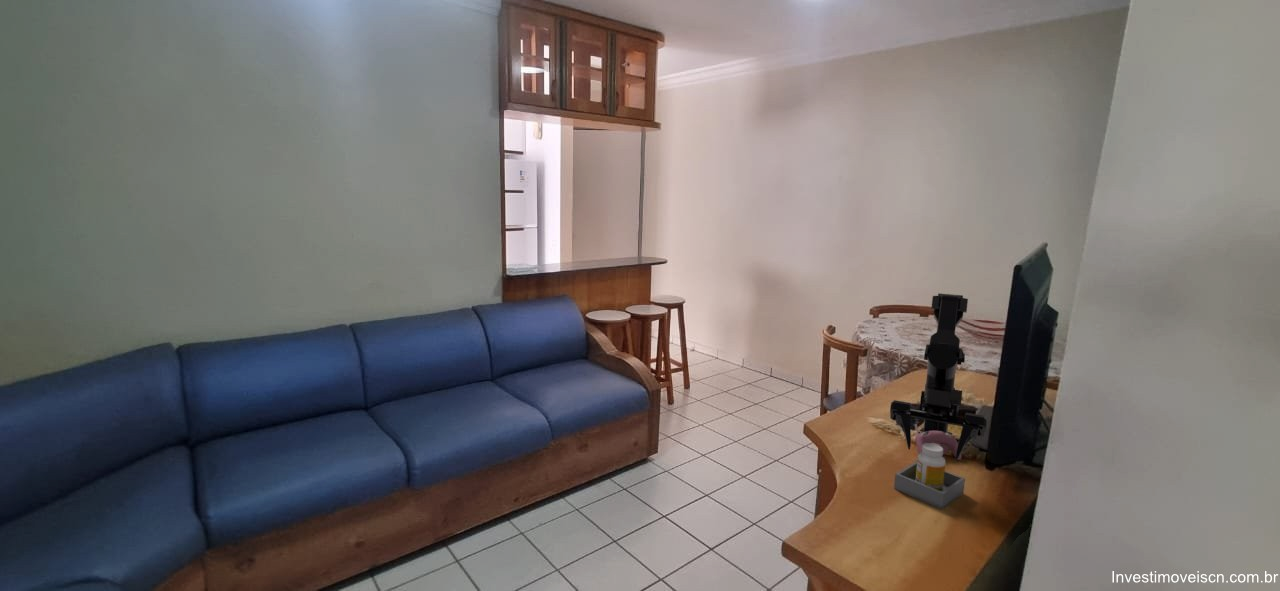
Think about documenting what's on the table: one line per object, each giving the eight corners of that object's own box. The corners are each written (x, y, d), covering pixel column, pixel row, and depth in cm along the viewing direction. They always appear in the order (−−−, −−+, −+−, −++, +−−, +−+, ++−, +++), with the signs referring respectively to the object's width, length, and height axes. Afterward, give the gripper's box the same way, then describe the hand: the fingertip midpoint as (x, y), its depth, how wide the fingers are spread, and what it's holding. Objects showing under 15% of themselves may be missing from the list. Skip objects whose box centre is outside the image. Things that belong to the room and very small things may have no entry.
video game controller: (955, 460, 136) (952, 431, 138) (964, 460, 132) (960, 430, 134) (914, 458, 137) (911, 430, 139) (921, 458, 133) (919, 429, 135)
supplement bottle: (947, 489, 119) (952, 448, 117) (934, 497, 116) (938, 455, 114) (923, 478, 123) (927, 439, 121) (909, 485, 120) (914, 445, 118)
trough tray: (916, 474, 126) (918, 460, 126) (963, 493, 118) (965, 478, 118) (893, 488, 120) (895, 473, 120) (941, 509, 112) (943, 494, 112)
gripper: (894, 366, 124) (885, 430, 116) (991, 380, 114) (987, 450, 107) (895, 388, 132) (886, 448, 125) (985, 403, 123) (981, 469, 116)
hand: (932, 453), depth 118 cm, fingers open, 9 cm apart
